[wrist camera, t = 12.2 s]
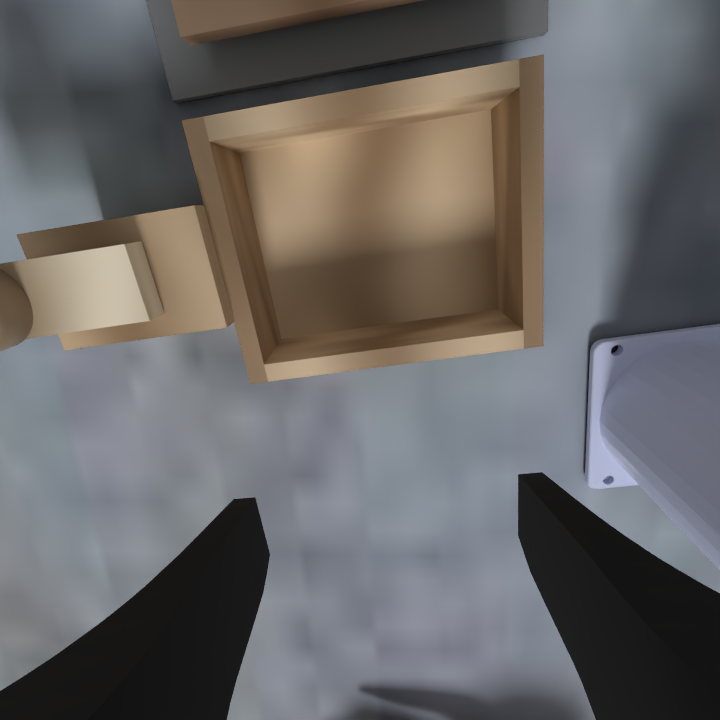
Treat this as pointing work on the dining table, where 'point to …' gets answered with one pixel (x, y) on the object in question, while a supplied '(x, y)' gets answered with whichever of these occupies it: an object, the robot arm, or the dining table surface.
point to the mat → (337, 43)
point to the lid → (260, 15)
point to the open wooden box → (351, 227)
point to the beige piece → (76, 293)
